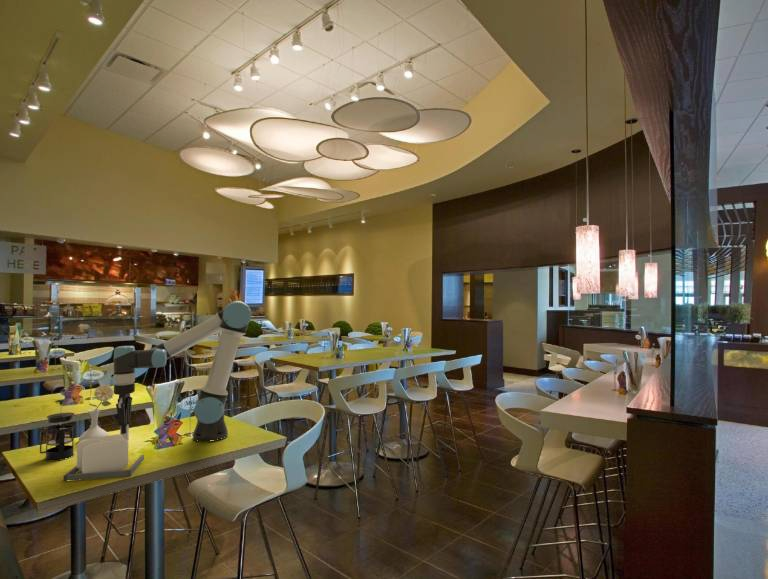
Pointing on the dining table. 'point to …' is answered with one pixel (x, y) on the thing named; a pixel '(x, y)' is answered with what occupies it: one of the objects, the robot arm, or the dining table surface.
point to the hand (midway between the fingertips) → (124, 440)
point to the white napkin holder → (102, 454)
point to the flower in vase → (95, 431)
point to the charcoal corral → (106, 474)
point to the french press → (59, 436)
